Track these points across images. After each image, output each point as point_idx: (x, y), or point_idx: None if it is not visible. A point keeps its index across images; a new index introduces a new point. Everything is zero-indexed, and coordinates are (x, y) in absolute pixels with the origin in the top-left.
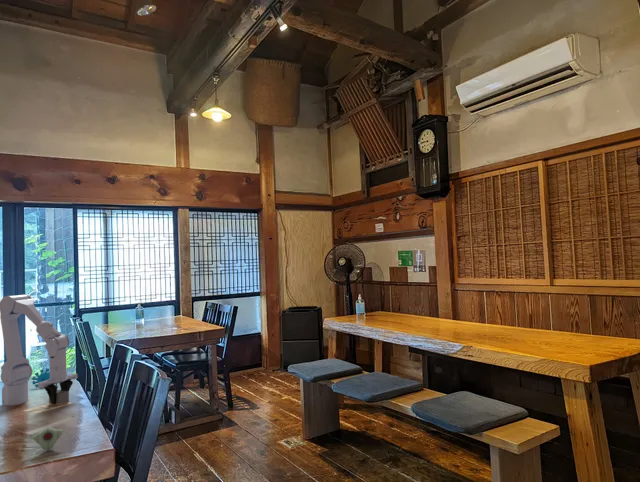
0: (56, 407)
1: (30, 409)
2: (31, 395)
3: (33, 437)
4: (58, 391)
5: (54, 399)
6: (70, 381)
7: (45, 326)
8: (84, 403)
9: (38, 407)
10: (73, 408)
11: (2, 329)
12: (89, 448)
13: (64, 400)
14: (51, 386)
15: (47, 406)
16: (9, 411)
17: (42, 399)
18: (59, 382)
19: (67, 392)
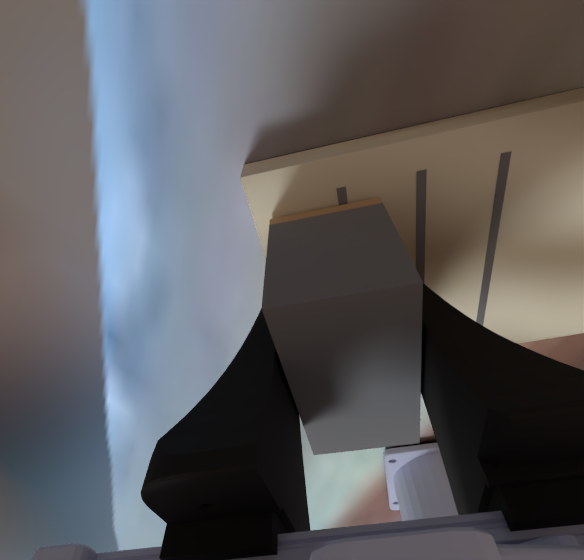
0: (437, 158)
1: (556, 315)
2: (316, 528)
3: None
4: (353, 396)
5: (426, 287)
6: (182, 498)
7: None
8: (114, 147)
9: (491, 316)
10: (271, 39)
11: None
12: None
13: (325, 229)
14: (567, 465)
15: (444, 282)
16: None
17: (316, 468)
18: (376, 533)
19: (284, 294)
